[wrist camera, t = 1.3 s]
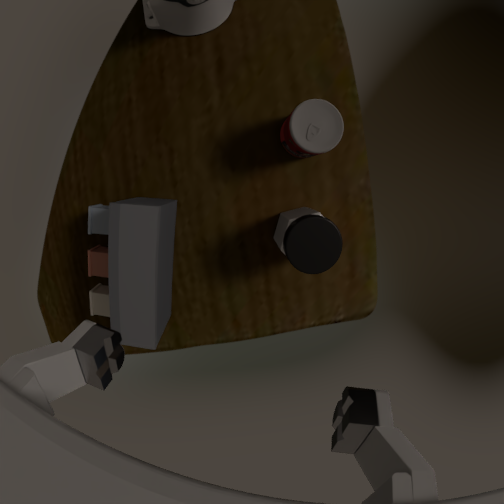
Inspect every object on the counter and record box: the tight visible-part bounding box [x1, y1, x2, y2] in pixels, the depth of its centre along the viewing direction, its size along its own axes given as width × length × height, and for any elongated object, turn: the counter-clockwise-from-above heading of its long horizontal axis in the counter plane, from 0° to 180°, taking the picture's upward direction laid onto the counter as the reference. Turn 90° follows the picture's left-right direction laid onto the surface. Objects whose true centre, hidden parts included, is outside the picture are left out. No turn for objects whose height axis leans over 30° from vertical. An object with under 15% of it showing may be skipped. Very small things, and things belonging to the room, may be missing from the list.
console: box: [108, 197, 177, 350], centre depth 47 cm, size 7×21×13 cm, turn 174°
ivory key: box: [89, 283, 110, 317], centre depth 49 cm, size 8×4×4 cm, turn 84°
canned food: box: [280, 99, 344, 158], centre depth 45 cm, size 8×8×11 cm
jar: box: [273, 207, 342, 274], centre depth 48 cm, size 9×8×12 cm
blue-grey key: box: [88, 204, 110, 235], centre depth 46 cm, size 8×4×4 cm, turn 84°
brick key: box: [88, 245, 108, 278], centre depth 48 cm, size 8×4×4 cm, turn 84°
